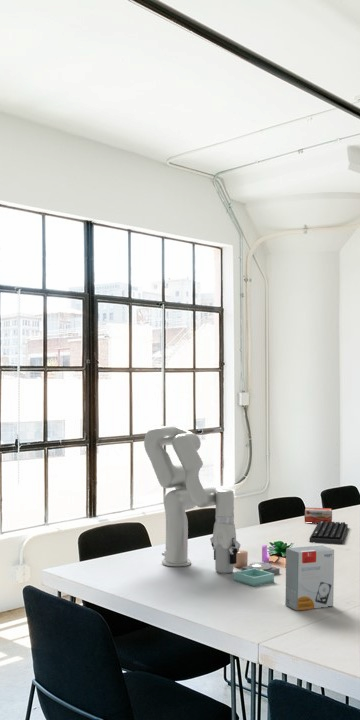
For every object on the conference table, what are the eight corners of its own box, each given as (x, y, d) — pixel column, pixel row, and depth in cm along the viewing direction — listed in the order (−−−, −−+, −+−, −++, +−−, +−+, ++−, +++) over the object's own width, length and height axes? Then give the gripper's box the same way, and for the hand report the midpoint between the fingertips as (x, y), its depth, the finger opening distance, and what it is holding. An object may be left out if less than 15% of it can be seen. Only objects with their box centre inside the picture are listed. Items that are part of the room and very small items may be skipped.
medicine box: (304, 523, 409) (304, 509, 410) (305, 521, 417) (305, 507, 417) (331, 524, 406) (331, 510, 406) (332, 522, 413) (332, 508, 414)
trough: (234, 580, 284) (234, 572, 284) (254, 576, 291) (254, 568, 291) (254, 586, 275) (254, 578, 275) (274, 582, 282) (274, 573, 282)
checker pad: (245, 567, 297) (245, 564, 297) (260, 564, 303) (260, 561, 303) (260, 571, 290) (260, 568, 290) (276, 568, 296) (276, 565, 296)
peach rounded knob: (230, 565, 308) (230, 551, 308) (240, 563, 311) (240, 549, 312) (240, 568, 303) (240, 554, 303) (250, 566, 307) (250, 552, 307)
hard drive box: (296, 611, 244) (296, 552, 245) (284, 605, 251) (284, 547, 252) (334, 606, 251) (334, 548, 251) (321, 600, 258) (321, 544, 258)
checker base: (241, 572, 297) (241, 565, 297) (260, 568, 304) (260, 561, 304) (261, 577, 288) (261, 570, 289) (280, 573, 295) (280, 566, 295)
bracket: (274, 562, 315) (274, 546, 315) (262, 561, 317) (262, 545, 317) (280, 556, 327) (280, 540, 327) (268, 555, 329) (268, 539, 329)
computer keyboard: (318, 527, 401) (318, 520, 401) (347, 529, 396) (347, 521, 396) (309, 543, 358) (309, 535, 358) (342, 545, 353) (342, 537, 353)
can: (212, 573, 295) (212, 543, 296) (218, 568, 302) (218, 540, 303) (230, 574, 292) (230, 545, 293) (235, 570, 299) (235, 541, 300)
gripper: (204, 518, 303) (204, 559, 302) (232, 523, 289) (232, 566, 288) (217, 516, 307) (217, 556, 306) (245, 521, 294) (246, 564, 293)
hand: (225, 561), depth 297 cm, fingers open, 9 cm apart
